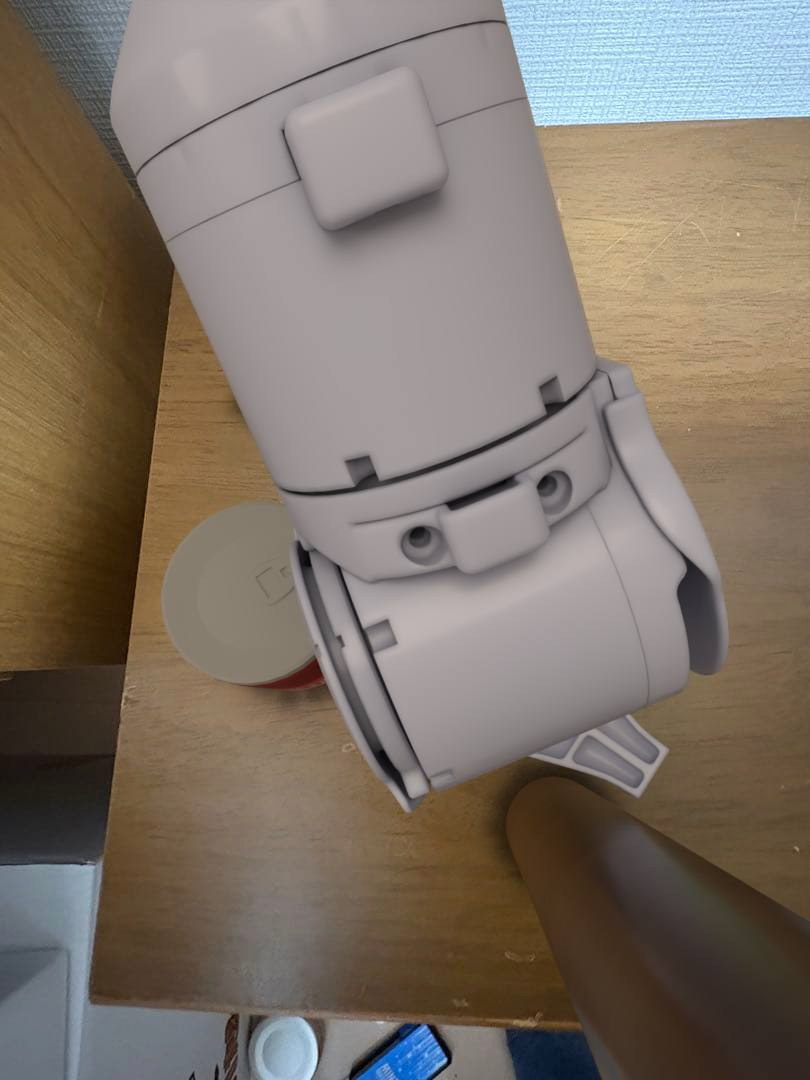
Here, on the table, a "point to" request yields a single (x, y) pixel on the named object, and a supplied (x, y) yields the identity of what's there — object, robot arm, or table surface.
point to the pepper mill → (661, 945)
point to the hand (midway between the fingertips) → (471, 664)
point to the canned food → (240, 601)
